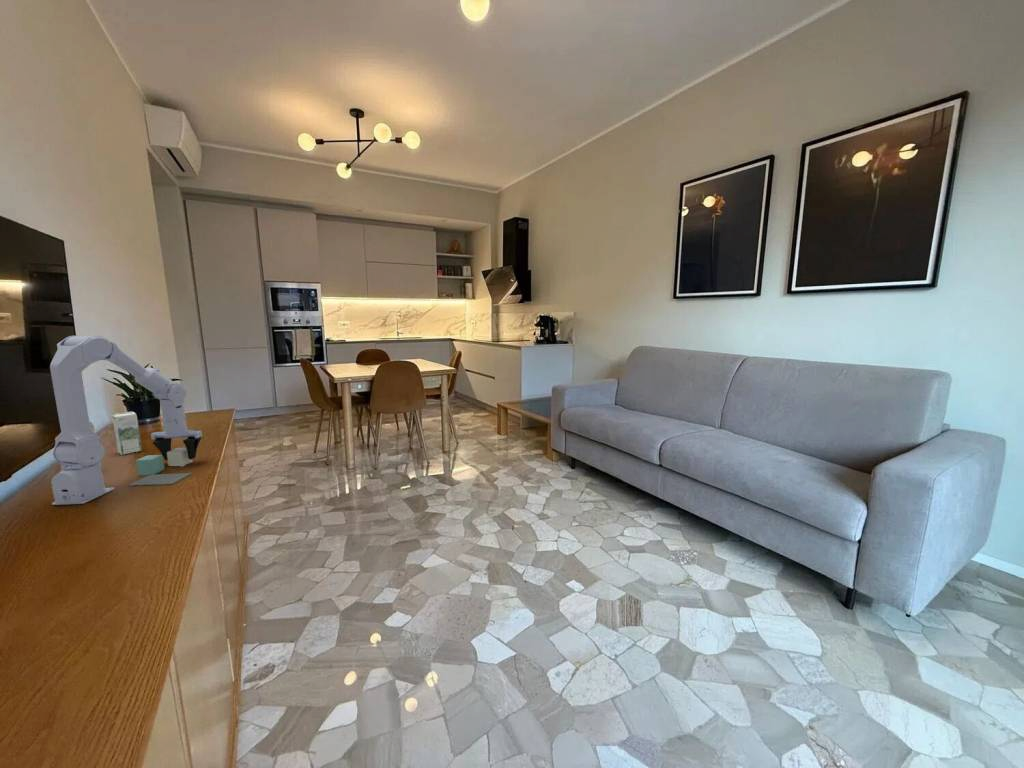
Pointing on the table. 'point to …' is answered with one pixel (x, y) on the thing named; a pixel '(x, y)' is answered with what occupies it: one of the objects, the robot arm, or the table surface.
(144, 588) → the table surface
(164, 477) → the slate mat
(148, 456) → the teal block
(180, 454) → the cream block
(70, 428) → the robot arm
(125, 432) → the syrup box
